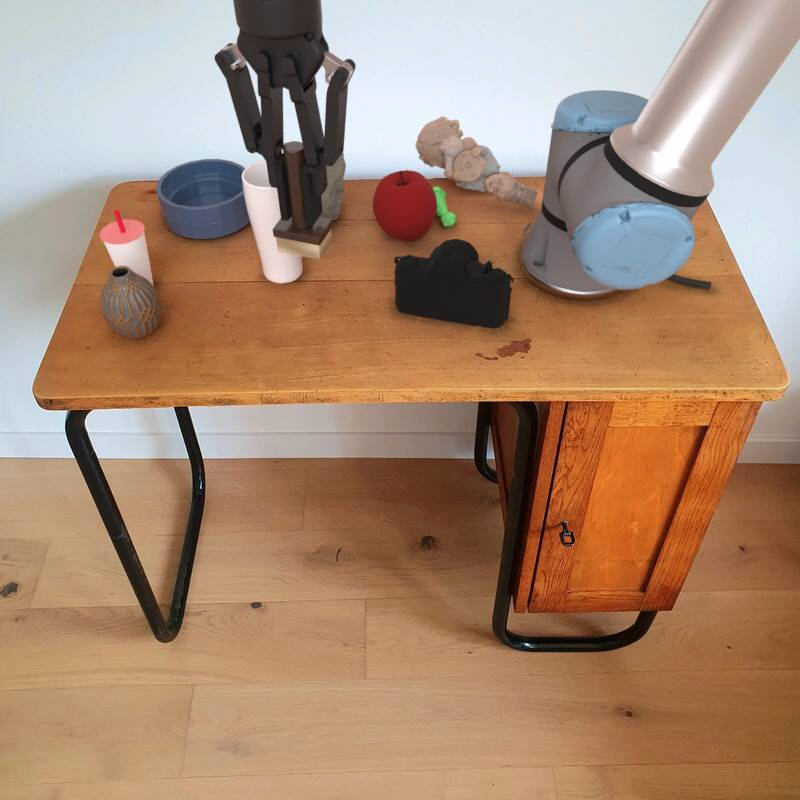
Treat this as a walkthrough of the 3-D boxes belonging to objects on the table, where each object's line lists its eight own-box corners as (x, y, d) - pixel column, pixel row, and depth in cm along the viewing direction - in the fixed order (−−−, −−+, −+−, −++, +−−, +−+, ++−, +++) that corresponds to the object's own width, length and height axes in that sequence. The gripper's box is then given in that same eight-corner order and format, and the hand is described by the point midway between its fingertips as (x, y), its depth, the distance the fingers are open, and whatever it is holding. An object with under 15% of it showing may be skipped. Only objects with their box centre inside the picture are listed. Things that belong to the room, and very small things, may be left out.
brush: (334, 241, 86) (326, 141, 77) (321, 261, 83) (311, 160, 75) (289, 233, 87) (276, 133, 78) (275, 252, 85) (260, 151, 76)
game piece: (413, 209, 112) (435, 236, 110) (426, 185, 110) (449, 211, 107) (435, 211, 115) (456, 237, 112) (448, 187, 113) (470, 213, 110)
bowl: (271, 199, 116) (266, 166, 112) (231, 249, 108) (224, 215, 104) (192, 185, 119) (185, 153, 115) (148, 233, 111) (138, 199, 107)
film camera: (517, 287, 102) (525, 229, 95) (504, 334, 95) (511, 276, 89) (406, 268, 105) (406, 211, 98) (386, 313, 98) (384, 255, 92)
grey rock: (350, 216, 119) (295, 181, 119) (376, 160, 113) (318, 123, 112) (310, 255, 109) (250, 217, 109) (338, 196, 102) (273, 154, 102)
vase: (99, 329, 97) (77, 273, 90) (145, 302, 100) (127, 246, 94) (132, 354, 93) (111, 298, 87) (178, 326, 97) (162, 269, 90)
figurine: (464, 119, 122) (550, 196, 114) (434, 164, 125) (514, 241, 118) (433, 104, 114) (522, 186, 107) (402, 153, 118) (486, 235, 111)
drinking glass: (300, 292, 101) (287, 191, 90) (251, 285, 102) (232, 185, 91) (314, 261, 106) (304, 161, 95) (267, 255, 107) (251, 156, 96)
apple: (447, 241, 108) (450, 177, 101) (388, 257, 106) (386, 192, 99) (421, 207, 114) (422, 145, 107) (364, 221, 112) (361, 158, 105)
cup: (152, 303, 100) (127, 224, 91) (113, 299, 101) (84, 220, 92) (167, 277, 104) (144, 199, 95) (129, 274, 104) (103, 196, 95)
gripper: (172, -18, 65) (221, 222, 82) (343, 2, 61) (356, 248, 78) (214, -47, 69) (252, 186, 87) (374, -29, 66) (381, 209, 83)
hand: (302, 215), depth 82 cm, fingers closed on brush, 2 cm apart
